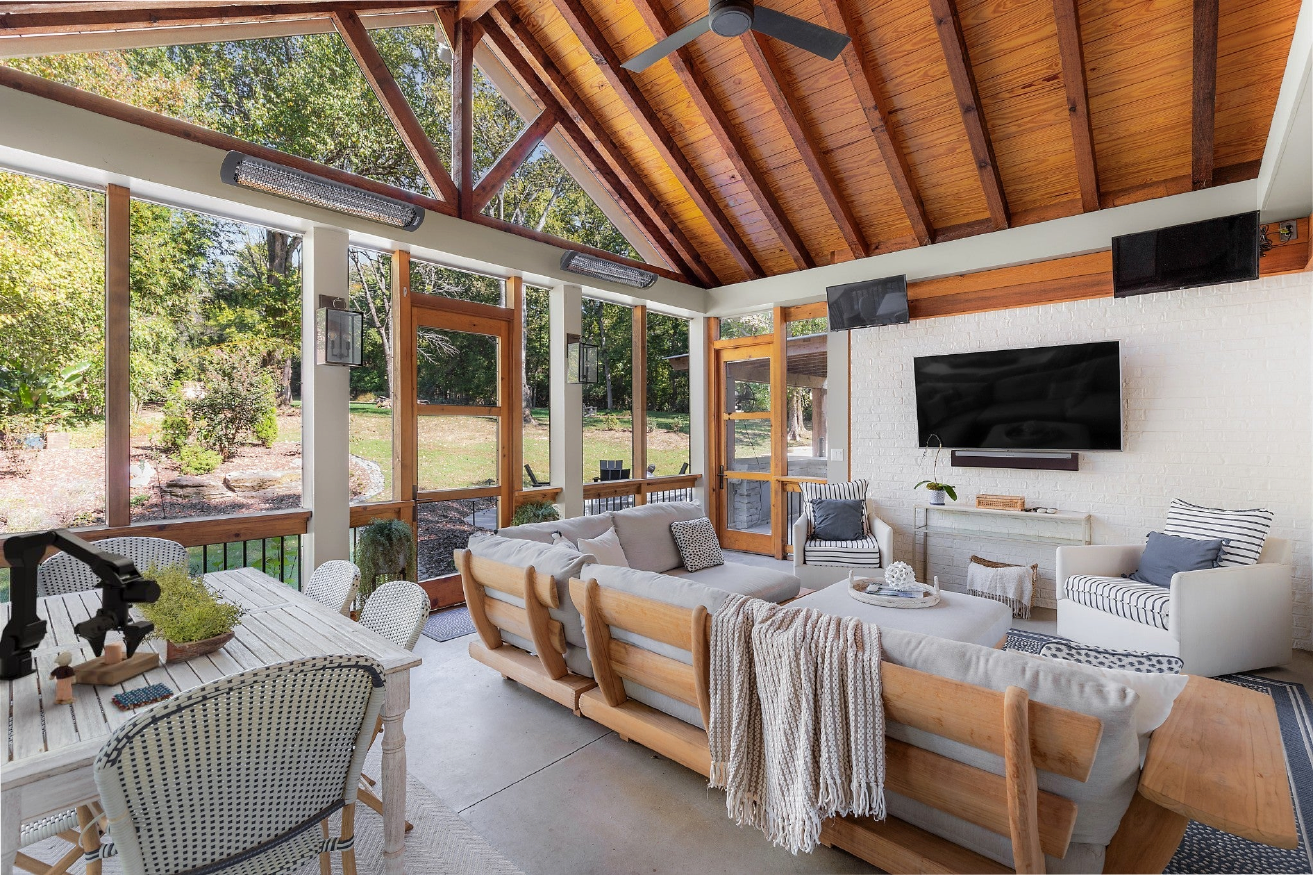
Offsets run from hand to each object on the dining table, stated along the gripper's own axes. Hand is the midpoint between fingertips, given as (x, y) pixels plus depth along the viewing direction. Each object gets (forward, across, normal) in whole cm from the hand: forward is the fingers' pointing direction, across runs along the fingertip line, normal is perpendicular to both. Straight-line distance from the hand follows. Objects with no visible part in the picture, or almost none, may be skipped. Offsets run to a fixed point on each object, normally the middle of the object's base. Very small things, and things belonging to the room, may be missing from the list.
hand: (113, 657), depth 167 cm
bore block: (+5, 0, 0) cm, 5 cm away
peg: (+4, 0, 0) cm, 4 cm away
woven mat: (+6, +21, -13) cm, 25 cm away
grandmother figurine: (+5, +3, -16) cm, 17 cm away
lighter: (+5, +9, +13) cm, 17 cm away
